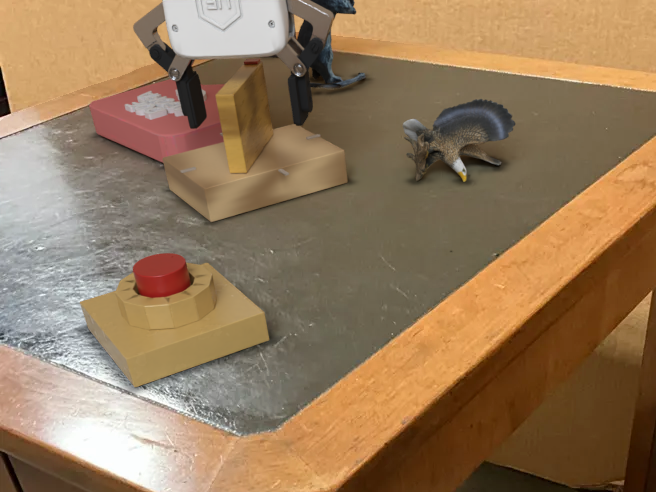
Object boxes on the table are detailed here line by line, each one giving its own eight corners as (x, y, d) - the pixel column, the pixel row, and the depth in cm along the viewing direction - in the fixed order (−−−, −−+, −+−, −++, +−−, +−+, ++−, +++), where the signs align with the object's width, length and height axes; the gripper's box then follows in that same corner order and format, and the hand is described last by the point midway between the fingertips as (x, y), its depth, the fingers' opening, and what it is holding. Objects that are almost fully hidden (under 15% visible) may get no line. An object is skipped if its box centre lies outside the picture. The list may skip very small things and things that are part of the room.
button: (149, 305, 60) (143, 281, 59) (131, 286, 63) (124, 262, 61) (199, 289, 62) (193, 265, 60) (179, 271, 64) (174, 248, 63)
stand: (219, 230, 78) (212, 194, 76) (160, 183, 87) (152, 150, 85) (360, 189, 83) (357, 153, 81) (290, 148, 92) (286, 116, 90)
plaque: (289, 93, 93) (165, 132, 86) (295, 131, 96) (175, 172, 89) (197, 64, 103) (80, 97, 96) (204, 100, 106) (90, 134, 99)
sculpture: (386, 86, 106) (376, -65, 96) (296, 98, 105) (277, -54, 95) (373, 68, 112) (362, -76, 102) (288, 78, 111) (269, -66, 101)
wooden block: (246, 173, 79) (232, 91, 74) (229, 173, 79) (214, 91, 75) (273, 134, 86) (262, 57, 82) (257, 134, 87) (245, 58, 82)
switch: (134, 388, 59) (118, 334, 57) (88, 329, 66) (71, 278, 63) (269, 340, 63) (260, 287, 60) (213, 288, 69) (202, 239, 67)
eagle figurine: (445, 188, 79) (529, 146, 80) (408, 108, 77) (495, 67, 79) (419, 208, 86) (496, 169, 88) (385, 136, 84) (465, 98, 86)
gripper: (86, -95, 68) (145, 139, 80) (307, -109, 66) (335, 134, 77) (121, -110, 73) (172, 111, 85) (327, -123, 71) (350, 106, 83)
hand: (249, 122), depth 81 cm, fingers open, 9 cm apart
